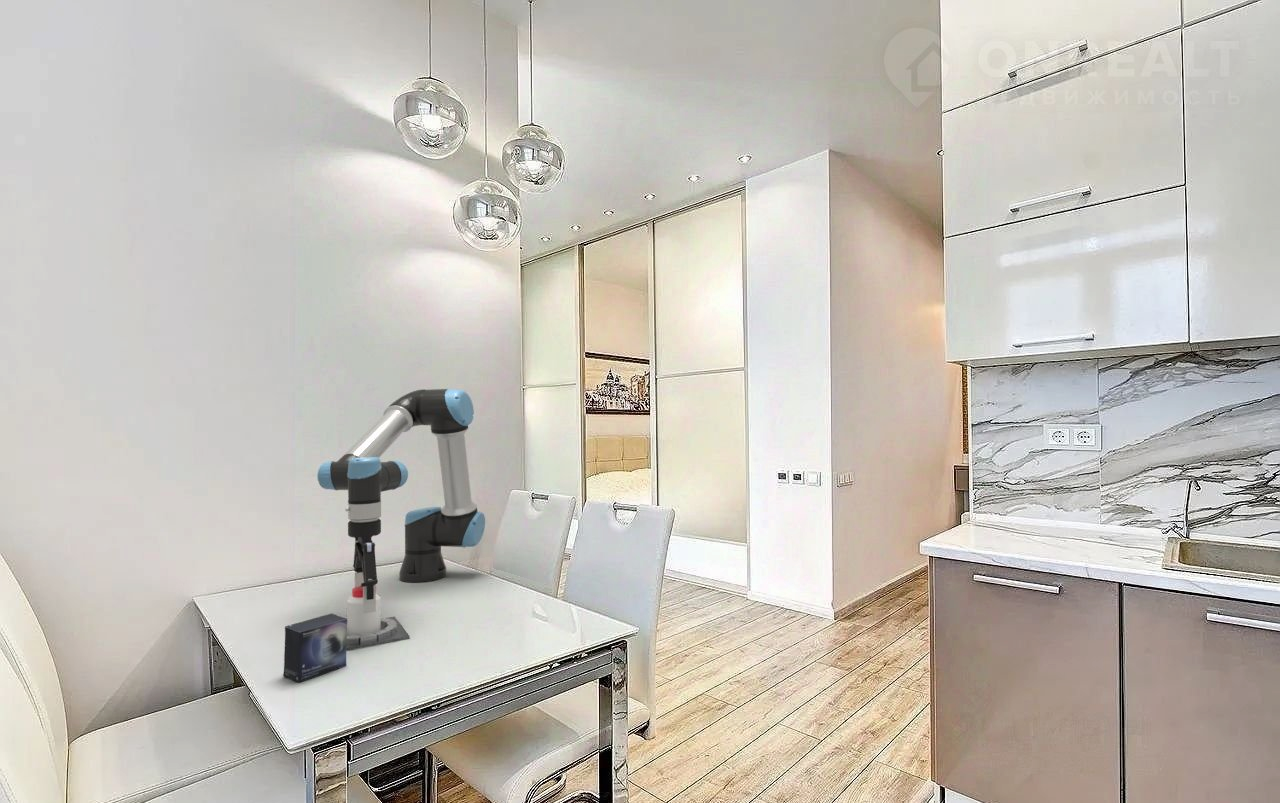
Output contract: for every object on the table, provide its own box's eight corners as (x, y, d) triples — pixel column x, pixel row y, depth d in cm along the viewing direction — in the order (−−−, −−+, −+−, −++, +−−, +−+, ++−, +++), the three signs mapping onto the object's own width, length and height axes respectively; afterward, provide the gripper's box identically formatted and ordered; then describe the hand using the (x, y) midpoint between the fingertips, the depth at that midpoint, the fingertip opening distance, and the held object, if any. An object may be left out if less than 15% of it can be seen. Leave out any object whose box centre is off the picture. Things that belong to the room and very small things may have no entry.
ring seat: (394, 618, 163) (394, 611, 163) (409, 638, 148) (409, 631, 148) (319, 631, 153) (319, 624, 153) (327, 654, 138) (327, 646, 138)
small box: (299, 684, 123) (299, 631, 123) (282, 677, 126) (282, 626, 127) (348, 666, 132) (348, 617, 132) (331, 659, 135) (331, 612, 136)
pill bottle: (339, 635, 148) (339, 590, 149) (364, 625, 156) (364, 582, 156) (363, 639, 146) (363, 593, 146) (387, 629, 153) (388, 585, 153)
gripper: (341, 513, 160) (341, 594, 160) (355, 529, 139) (355, 622, 139) (372, 511, 164) (372, 589, 164) (390, 525, 143) (390, 615, 143)
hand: (364, 604), depth 151 cm, fingers open, 13 cm apart
